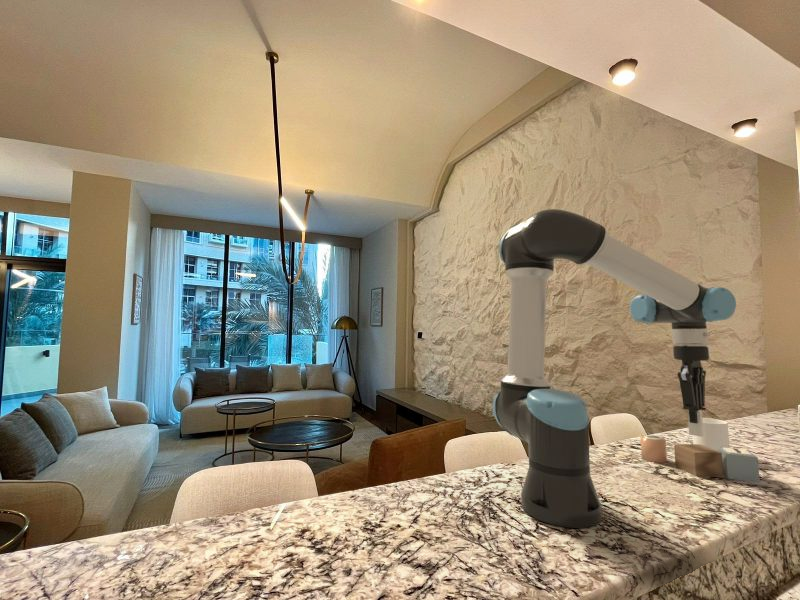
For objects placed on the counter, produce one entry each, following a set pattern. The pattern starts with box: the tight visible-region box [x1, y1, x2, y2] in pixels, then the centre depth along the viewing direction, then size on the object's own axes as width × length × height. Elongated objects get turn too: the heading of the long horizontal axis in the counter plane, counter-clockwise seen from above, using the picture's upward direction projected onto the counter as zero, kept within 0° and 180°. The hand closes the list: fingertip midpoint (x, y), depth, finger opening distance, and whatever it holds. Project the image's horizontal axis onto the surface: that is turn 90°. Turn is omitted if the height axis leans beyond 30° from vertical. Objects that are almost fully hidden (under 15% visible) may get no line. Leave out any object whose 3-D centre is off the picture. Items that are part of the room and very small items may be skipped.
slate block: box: [718, 447, 761, 483], centre depth 95 cm, size 6×6×6 cm
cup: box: [692, 417, 731, 451], centre depth 112 cm, size 8×12×10 cm
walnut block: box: [673, 443, 724, 478], centre depth 99 cm, size 7×7×6 cm
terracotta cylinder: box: [640, 434, 668, 464], centre depth 108 cm, size 6×6×6 cm
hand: (696, 435), depth 99 cm, fingers closed
